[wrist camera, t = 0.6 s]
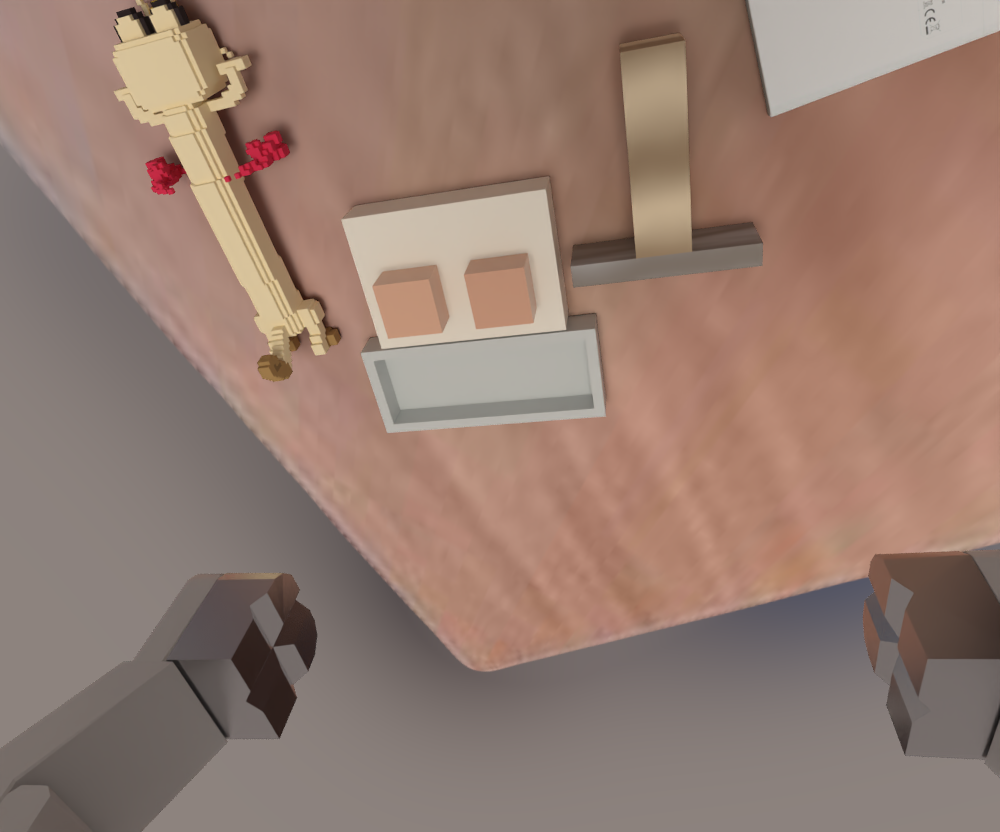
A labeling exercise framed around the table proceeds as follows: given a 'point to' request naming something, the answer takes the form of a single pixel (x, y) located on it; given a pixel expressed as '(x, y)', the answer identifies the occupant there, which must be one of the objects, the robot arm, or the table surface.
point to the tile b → (501, 291)
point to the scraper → (661, 182)
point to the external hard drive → (854, 41)
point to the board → (462, 250)
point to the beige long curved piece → (214, 162)
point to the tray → (490, 379)
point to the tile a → (411, 301)
